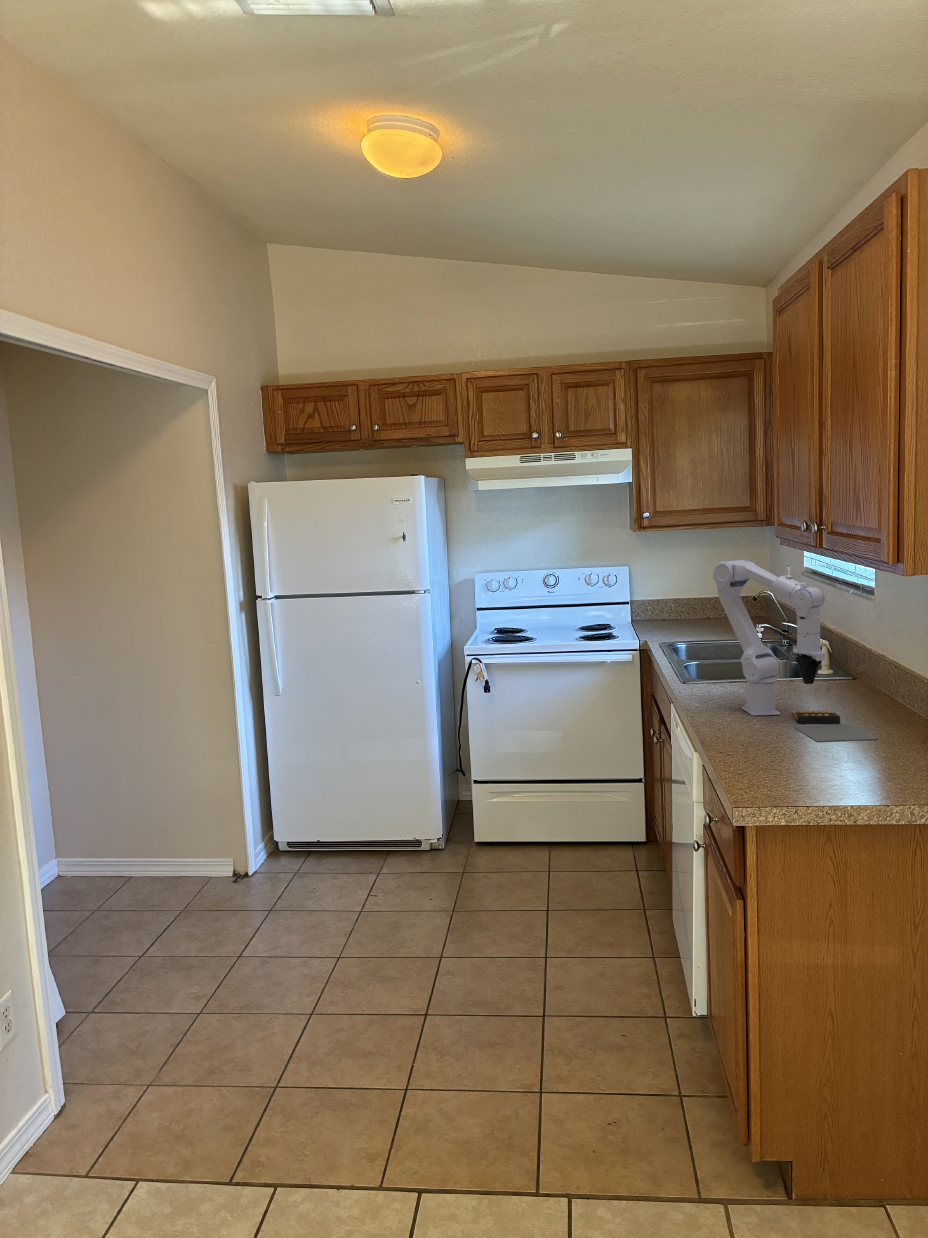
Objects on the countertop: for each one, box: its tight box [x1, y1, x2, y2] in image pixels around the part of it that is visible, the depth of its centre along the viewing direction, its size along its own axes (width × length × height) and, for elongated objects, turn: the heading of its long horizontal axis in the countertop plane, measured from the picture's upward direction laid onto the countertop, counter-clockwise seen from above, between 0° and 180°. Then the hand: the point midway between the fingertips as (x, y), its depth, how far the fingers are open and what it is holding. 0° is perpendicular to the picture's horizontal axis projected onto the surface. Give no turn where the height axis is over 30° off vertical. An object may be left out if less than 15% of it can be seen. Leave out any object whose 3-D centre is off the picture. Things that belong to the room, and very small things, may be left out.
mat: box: [793, 723, 878, 743], centre depth 235 cm, size 15×15×1 cm
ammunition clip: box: [791, 709, 841, 724], centre depth 251 cm, size 11×2×12 cm
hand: (808, 683), depth 247 cm, fingers closed
